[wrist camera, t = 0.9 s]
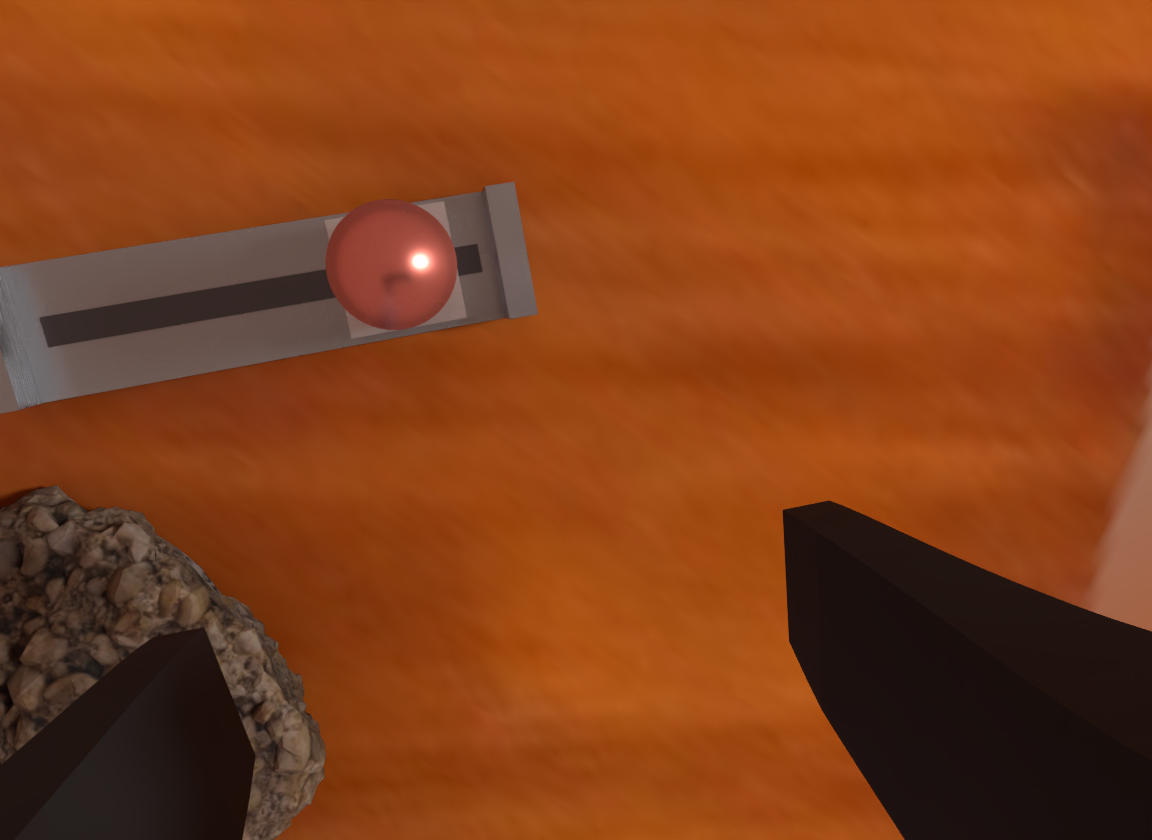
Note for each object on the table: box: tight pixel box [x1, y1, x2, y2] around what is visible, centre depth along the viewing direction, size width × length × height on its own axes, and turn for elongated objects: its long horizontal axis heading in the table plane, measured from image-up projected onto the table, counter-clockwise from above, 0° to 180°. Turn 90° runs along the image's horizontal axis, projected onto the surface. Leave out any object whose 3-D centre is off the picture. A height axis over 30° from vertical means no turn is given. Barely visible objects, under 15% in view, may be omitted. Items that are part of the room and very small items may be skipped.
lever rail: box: [0, 182, 538, 413], centre depth 21 cm, size 4×14×2 cm, turn 100°
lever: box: [325, 199, 467, 339], centre depth 19 cm, size 3×3×6 cm
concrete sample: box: [0, 485, 326, 840], centre depth 21 cm, size 12×10×5 cm
